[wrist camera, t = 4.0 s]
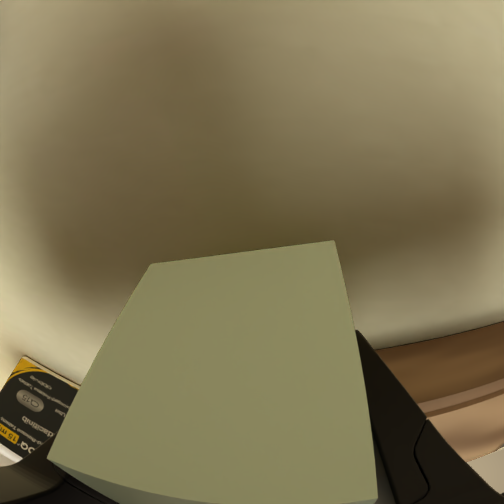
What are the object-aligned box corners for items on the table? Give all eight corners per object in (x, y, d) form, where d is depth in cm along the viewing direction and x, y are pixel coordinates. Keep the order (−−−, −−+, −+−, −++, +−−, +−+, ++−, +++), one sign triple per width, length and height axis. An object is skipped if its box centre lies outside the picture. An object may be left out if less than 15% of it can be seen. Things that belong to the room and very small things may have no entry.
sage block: (340, 366, 10) (350, 534, 5) (202, 374, 11) (166, 524, 6) (334, 240, 8) (377, 497, 2) (150, 263, 9) (46, 458, 3)
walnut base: (487, 419, 16) (497, 453, 13) (342, 454, 18) (344, 493, 15) (553, 304, 10) (581, 347, 7) (348, 354, 12) (357, 420, 9)
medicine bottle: (111, 399, 17) (54, 558, 7) (112, 433, 20) (72, 552, 10) (22, 352, 16) (-50, 488, 6) (39, 397, 20) (-10, 505, 9)
